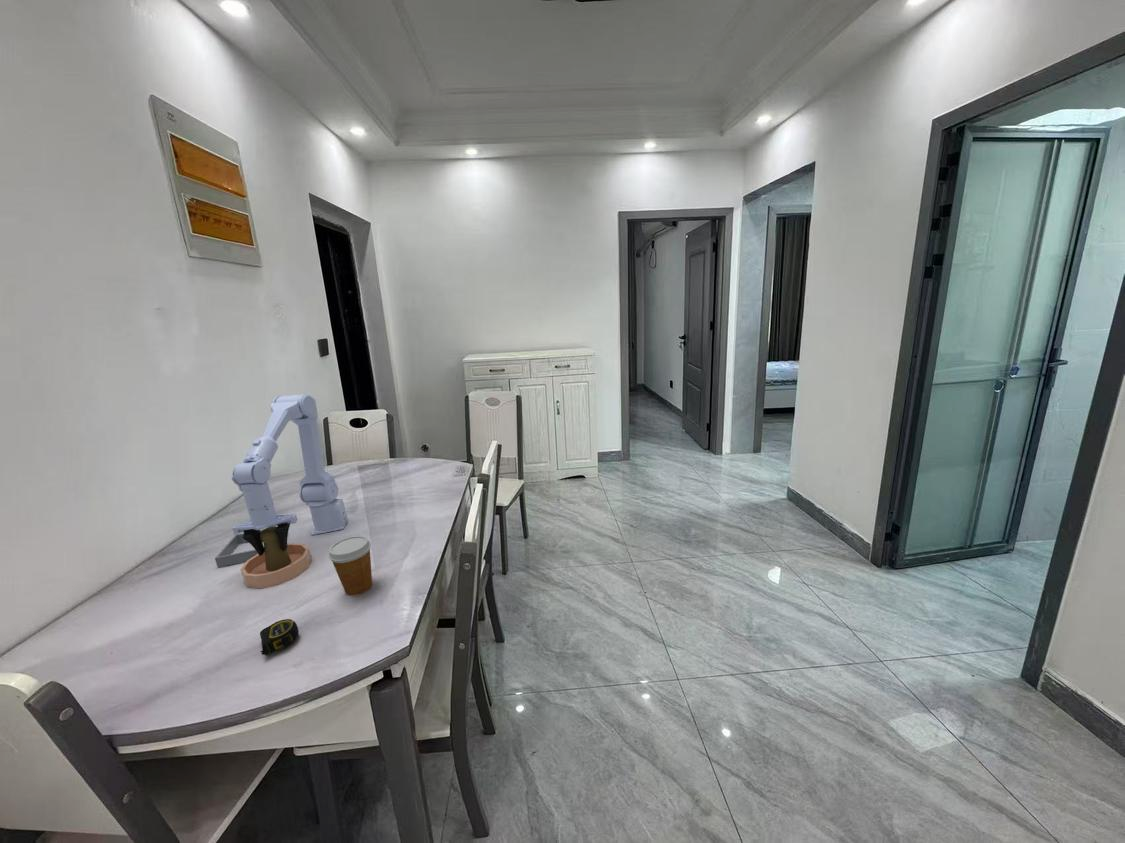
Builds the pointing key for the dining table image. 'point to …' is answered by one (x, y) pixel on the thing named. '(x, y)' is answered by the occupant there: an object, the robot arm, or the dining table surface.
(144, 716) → the dining table surface
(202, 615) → the dining table surface
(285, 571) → the bowl
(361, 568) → the disposable coffee cup
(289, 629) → the tape measure
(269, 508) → the robot arm
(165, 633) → the dining table surface
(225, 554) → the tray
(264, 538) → the cork
